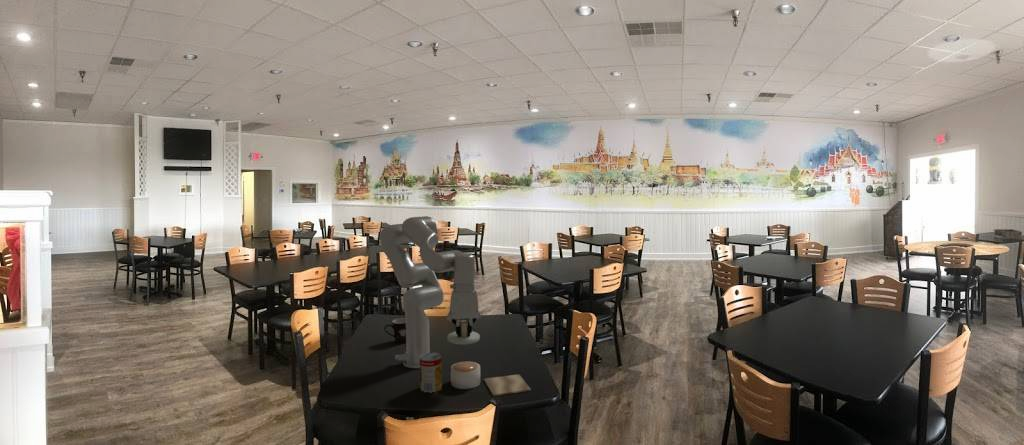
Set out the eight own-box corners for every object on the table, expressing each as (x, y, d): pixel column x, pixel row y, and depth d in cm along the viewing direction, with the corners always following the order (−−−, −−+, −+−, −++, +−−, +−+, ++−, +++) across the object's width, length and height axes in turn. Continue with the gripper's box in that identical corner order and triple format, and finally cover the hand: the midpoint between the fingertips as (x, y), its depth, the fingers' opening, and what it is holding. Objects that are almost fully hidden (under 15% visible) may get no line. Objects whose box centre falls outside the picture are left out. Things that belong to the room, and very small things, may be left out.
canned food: (443, 383, 178) (442, 352, 177) (440, 392, 170) (440, 360, 169) (422, 383, 177) (421, 352, 176) (418, 393, 170) (417, 360, 169)
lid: (450, 345, 170) (450, 328, 169) (445, 334, 181) (445, 317, 181) (483, 342, 173) (483, 325, 173) (475, 332, 185) (476, 315, 184)
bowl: (453, 390, 172) (453, 373, 171) (448, 378, 182) (448, 362, 181) (483, 386, 175) (483, 370, 174) (476, 375, 185) (476, 359, 185)
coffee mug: (413, 338, 228) (413, 318, 228) (408, 344, 220) (407, 323, 219) (390, 338, 230) (389, 317, 229) (383, 344, 221) (383, 323, 220)
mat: (493, 396, 167) (493, 394, 167) (483, 380, 180) (483, 378, 180) (530, 390, 171) (530, 389, 171) (519, 375, 184) (519, 374, 184)
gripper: (443, 291, 169) (443, 340, 171) (488, 288, 174) (487, 337, 176) (440, 285, 176) (440, 333, 179) (483, 283, 181) (482, 330, 183)
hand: (463, 335), depth 177 cm, fingers closed on lid, 3 cm apart
